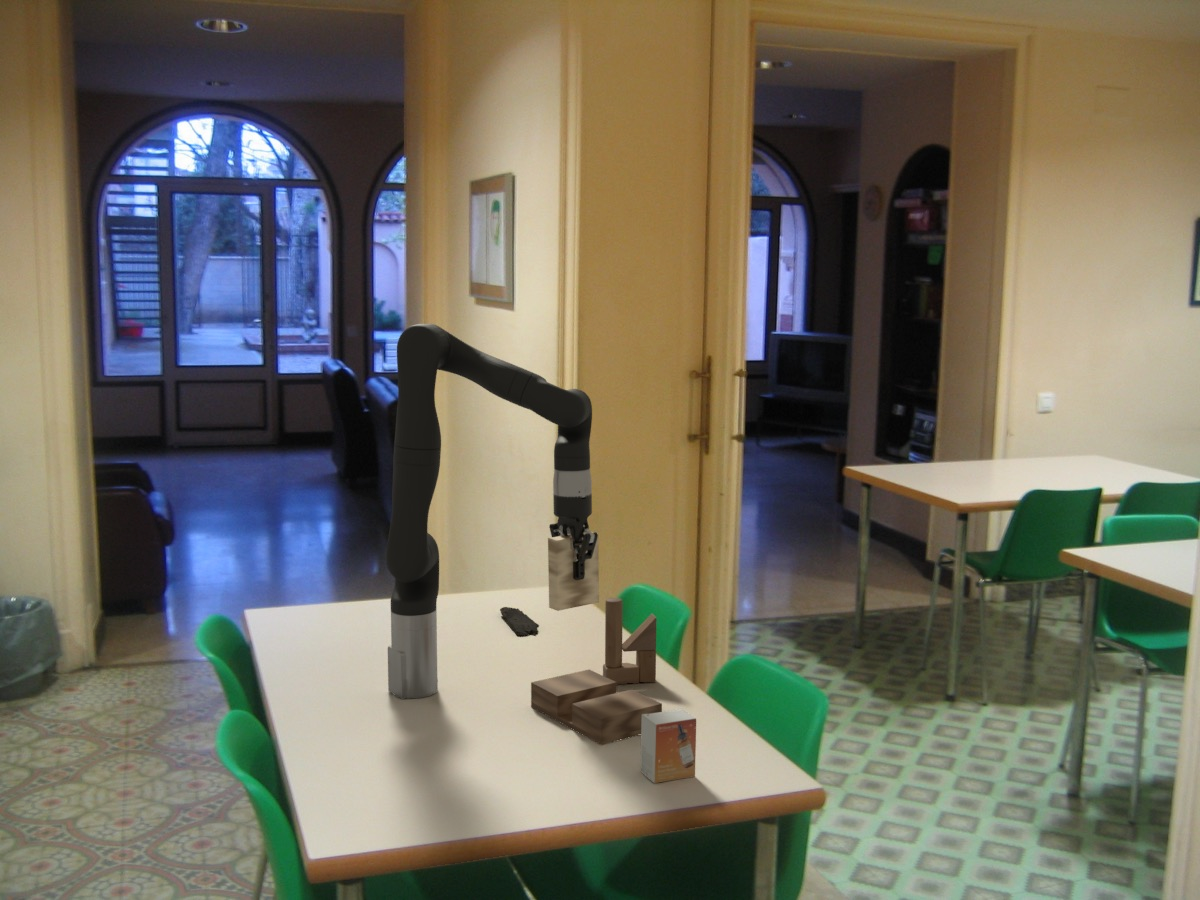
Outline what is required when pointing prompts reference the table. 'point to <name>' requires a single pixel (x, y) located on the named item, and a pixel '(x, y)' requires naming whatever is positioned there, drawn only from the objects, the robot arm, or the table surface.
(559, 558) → the maple slat
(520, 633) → the wood
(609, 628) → the wooden toy block structure
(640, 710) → the slotted plate
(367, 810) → the table surface
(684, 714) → the small box
